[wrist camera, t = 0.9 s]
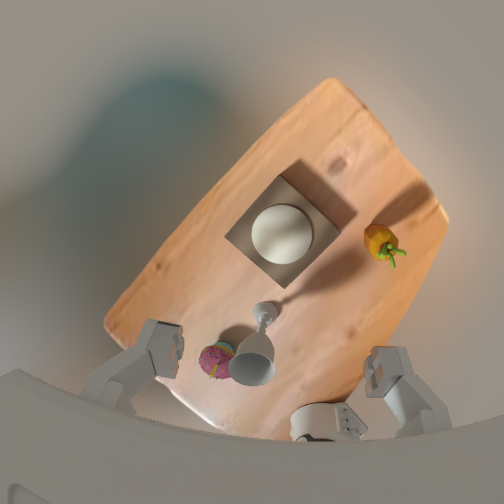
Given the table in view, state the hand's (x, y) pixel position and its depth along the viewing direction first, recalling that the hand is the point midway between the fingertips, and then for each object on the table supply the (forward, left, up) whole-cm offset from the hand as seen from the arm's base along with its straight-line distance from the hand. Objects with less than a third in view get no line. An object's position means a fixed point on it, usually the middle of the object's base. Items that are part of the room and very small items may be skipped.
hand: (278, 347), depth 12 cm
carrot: (-13, -6, -42) cm, 44 cm away
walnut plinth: (-2, +5, -42) cm, 42 cm away
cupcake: (-11, +34, -42) cm, 55 cm away
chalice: (-11, +20, -42) cm, 48 cm away
